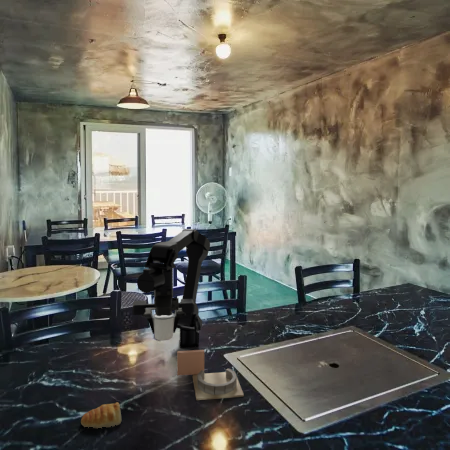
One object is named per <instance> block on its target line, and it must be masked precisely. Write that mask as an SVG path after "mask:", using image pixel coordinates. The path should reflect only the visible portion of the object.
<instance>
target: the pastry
mask: <svg viewBox="0 0 450 450" xmlns="http://www.w3.org/2000/svg"><path fill="white" fill-rule="evenodd" d="M121 411H122V410H121V405H120V403H119V402H117V401H116V402H114V403H106V404H105V403H104V404H101V405H100V406H98V407H97V408H93V409H91V410H89V411H88V412H86V413H84V414H83V415H82V416H81V420H80V423H81V424H80V425H82V426H83V427H84V428H85V427H88V428H87V429H90V428H89V427H93V428H92V429H98V428H101V429H103V428H102V427H106V428H112V427H116V426H119V425H120V424H121V422H122V414H121V413H122V412H121ZM115 425H116V426H115ZM111 426H112V427H111Z"/></svg>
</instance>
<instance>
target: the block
mask: <svg viewBox="0 0 450 450" xmlns="http://www.w3.org/2000/svg"><path fill="white" fill-rule="evenodd" d="M176 359H177V360H176V361H177V363H176V367H177V368H176V373H177V376H189V375H191V376H192V374H198V373H199V372H200V371H201V370H203V371H204V372H205V349H194V350H177V354H176Z"/></svg>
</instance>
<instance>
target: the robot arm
mask: <svg viewBox="0 0 450 450" xmlns="http://www.w3.org/2000/svg"><path fill="white" fill-rule="evenodd" d="M185 248H186V249H185ZM210 248H211V241H210V240H209V239H208V237H207V236H205V235H204V234H202V233H200V232H199V231H198V230H196V229H195V228H184V229H182V230H181V232H179V233H178V234H176V235H175V236H174V237H172V238H171V239H169V240H167V241H161V242H157V243H155V244H153V245H152V247H151V248H150V250H149V254H148V257H147V259H146V262H145V265H144V269H143V270H142V274H140V275H139V276H138V278H137V280H136V284H137V287H138V289H139V291H140V292H141V293H143V294H150V293H152V292H153V293H154V297H153V303H147V300H135V301H133V304H132V309H131V311H132V315H133V316H139V315H140V316H141V317H142V318H145V319H146V320H147V322H148V324H149V327H150V330H151V333H152V335H155V334H154V324H153V315H154V314H153V311H155V314H156V315H157V316H161V315H167V316H170V315H172V313H173V311H174V313H173V314H175V319H174V329H173V334H175V333H176V330H177V329H179V340H178V343H179V349H191V348H193V349H194V348H199V343H200V331H202V327H203V320H202V318H201V317H200V316H199V312H200V310H199V307H198V304H197V302H196V301H197V295H198V290H199V289H198V288H199V283H200V277H201V276H200V275H201V270H202V265H203V264H202V263H203V262H204V260H205V259H206V258H207V257H208V254H209V250H210ZM184 249H185V253H186V256H187V259H188V263H187V269H186V275H185V281H184V288H183V292H182V293H183V294H182V298H181V299H180V301H179V297H174V269H175V268H176V265H175V262H176V260H177V259H178V258H179V255H178V254H179V253H180V252H181V251H182V250H184Z"/></svg>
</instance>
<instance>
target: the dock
mask: <svg viewBox="0 0 450 450" xmlns="http://www.w3.org/2000/svg"><path fill="white" fill-rule="evenodd" d="M191 377H192V381H193V388H194V393H195V400H196V401H204V400H205V401H206V400H216V399H229V398H241V397H244V396H245V395H244V391H243V390H242V386H241V385H240V381H239V378H238V376H237V374H236V371H234V370H233V369H231V368H227V369H225V371H222V372H210V373H208V372H207V373H205V370H204V371H203V370H201V371H200V372H199V373H198V374H192V375H191Z"/></svg>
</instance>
